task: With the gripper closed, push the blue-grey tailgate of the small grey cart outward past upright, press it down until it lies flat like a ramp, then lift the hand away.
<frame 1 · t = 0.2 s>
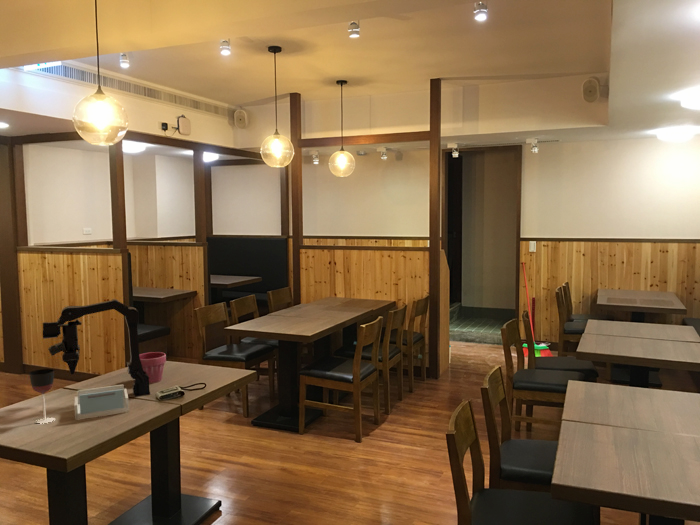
hand: (72, 371, 242), 14 cm above the table, tool pointing down, fingers open, 9 cm apart
wineglass: (44, 421, 224), on the table
plant pot: (151, 381, 276), on the table
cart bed: (102, 410, 234), on the table
tailgate: (101, 401, 227), point 6 cm above the table, hinge at 0.0°
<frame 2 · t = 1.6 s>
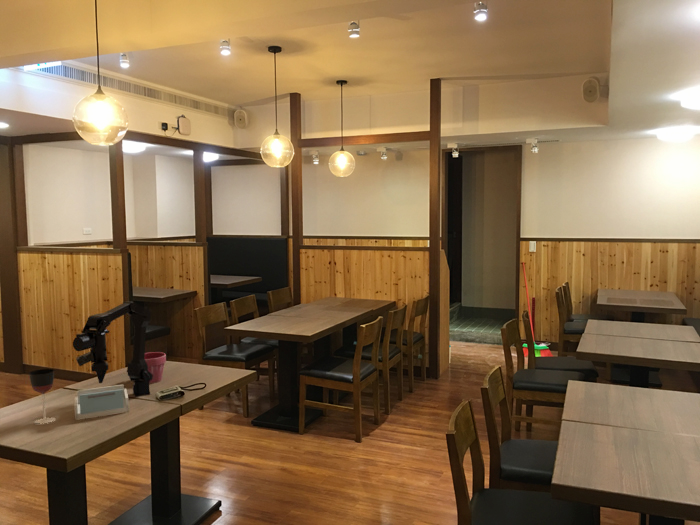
hand: (100, 382, 233), 12 cm above the table, tool pointing down, fingers closed
nothing on the table moved.
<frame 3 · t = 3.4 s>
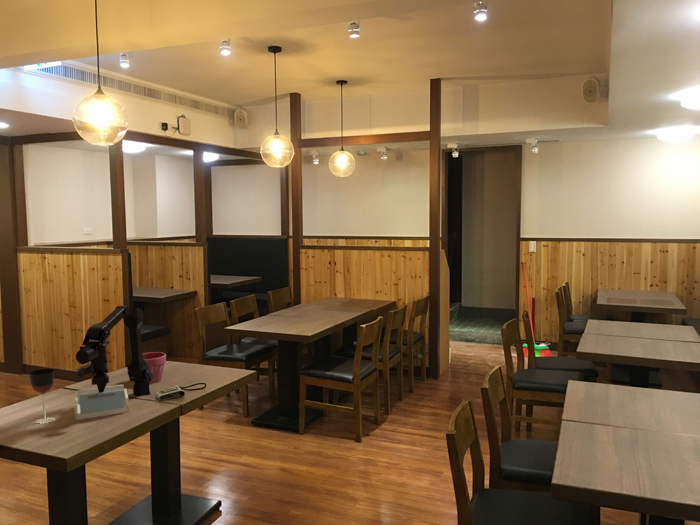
hand: (101, 394, 227), 9 cm above the table, tool pointing down, fingers closed
tailgate: (101, 401, 226), point 6 cm above the table, hinge at 3.3°, touching gripper
everything else where it was.
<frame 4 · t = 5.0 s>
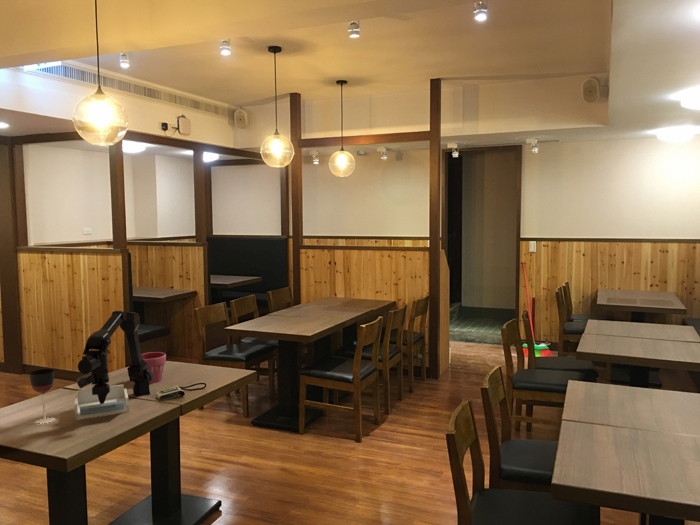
hand: (101, 404, 223), 6 cm above the table, tool pointing down, fingers closed, pressing on tailgate
tailgate: (102, 408, 224), point 4 cm above the table, hinge at 52.9°, touching gripper
everything else where it was.
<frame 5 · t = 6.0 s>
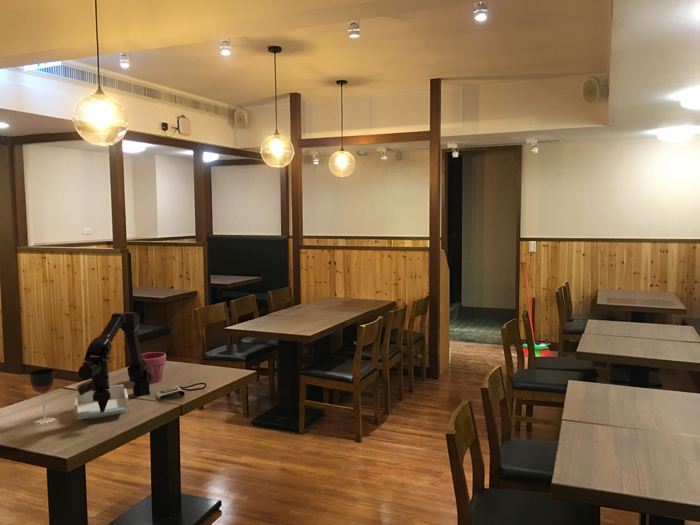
hand: (102, 412, 222), 3 cm above the table, tool pointing down, fingers closed, pressing on tailgate
tailgate: (102, 413, 224), point 2 cm above the table, hinge at 79.8°, touching gripper
everything else where it was.
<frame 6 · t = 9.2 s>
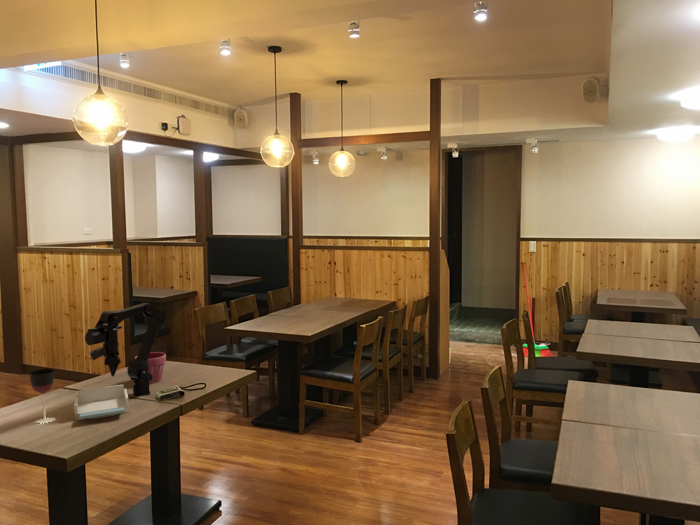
hand: (112, 376, 242), 12 cm above the table, tool pointing down, fingers closed
tailgate: (102, 413, 224), point 2 cm above the table, hinge at 81.4°
everything else where it was.
at the end: tailgate at +81° (first picture: +0°); the gripper is holding nothing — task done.
